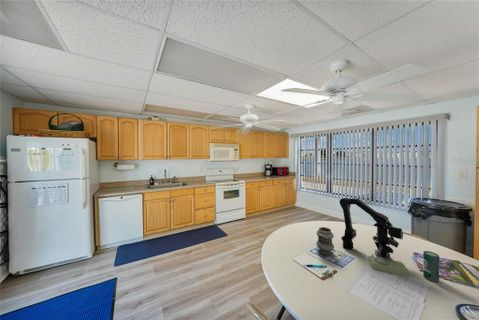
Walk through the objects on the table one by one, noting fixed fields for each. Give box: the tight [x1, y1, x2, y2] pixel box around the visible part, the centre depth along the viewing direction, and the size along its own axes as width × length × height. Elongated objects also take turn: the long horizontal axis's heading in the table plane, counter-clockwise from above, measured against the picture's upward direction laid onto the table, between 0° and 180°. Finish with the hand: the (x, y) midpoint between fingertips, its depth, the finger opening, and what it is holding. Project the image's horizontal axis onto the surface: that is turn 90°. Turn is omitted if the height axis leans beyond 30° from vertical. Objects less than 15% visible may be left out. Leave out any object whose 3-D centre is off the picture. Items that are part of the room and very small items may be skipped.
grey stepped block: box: [374, 249, 391, 259], centre depth 118 cm, size 7×5×4 cm
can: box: [422, 250, 440, 283], centre depth 101 cm, size 6×6×15 cm
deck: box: [367, 254, 409, 277], centre depth 114 cm, size 18×14×4 cm
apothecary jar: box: [316, 226, 335, 257], centre depth 130 cm, size 12×12×18 cm
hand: (382, 256), depth 118 cm, fingers closed on grey stepped block, 5 cm apart
